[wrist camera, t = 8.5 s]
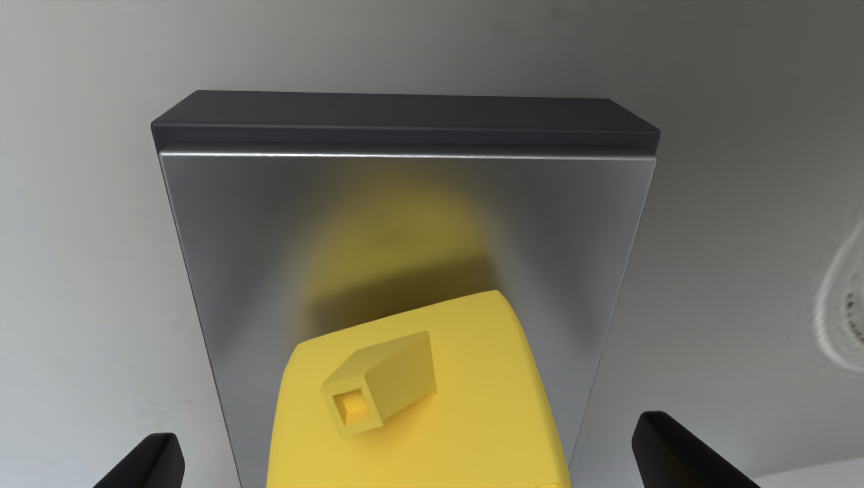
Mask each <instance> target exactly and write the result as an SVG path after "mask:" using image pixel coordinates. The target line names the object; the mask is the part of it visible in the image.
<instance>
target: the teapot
mask: <svg viewBox="0 0 864 488" xmlns="http://www.w3.org/2000/svg"><path fill="white" fill-rule="evenodd" d="M266 488H572V484H571V480H570V476H569V472H568V467H567V463H566V460H565V456H564V452H563V449H562V445H561V442H560V438H559V434H558V431H557V427H556V424H555V421H554V418H553V414H552V411H551V408H550V405H549V402H548V399H547V396H546V393H545V389H544V386H543V383H542V380H541V377H540V375H539V372H538V369H537V366H536V363H535V360H534V357H533V355H532V352H531V349H530V346H529V344H528V341H527V338H526V336H525V333H524V331H523V328H522V326H521V324H520V322H519V320H518V318H517V316H516V314H515V312H514V311H513V309H512V307H511V306H510V304H509V302H508V301H507V299H506V298H505V297H504V296H503V295H502V294H501V293H500V291H497V290H491V291H485V292H481V293H476V294H472V295H468V296H464V297H460V298H456V299H452V300H448V301H444V302H441V303H437V304H433V305H429V306H425V307H422V308H418V309H414V310H410V311H406V312H403V313H399V314H395V315H392V316H388V317H385V318H381V319H378V320H374V321H371V322H367V323H364V324H360V325H357V326H353V327H350V328H346V329H343V330H339V331H336V332H333V333H329V334H326V335H323V336H320V337H317V338H313V339H310V340H307V341H305V342H302V343H300V344H298V345H297V346H296V348H295V350H294V352H293V353H292V355H291V357H290V360H289V362H288V364H287V366H286V368H285V371H284V374H283V377H282V381H281V386H280V390H279V395H278V401H277V406H276V412H275V418H274V424H273V430H272V438H271V445H270V453H269V462H268V472H267V482H266Z"/></svg>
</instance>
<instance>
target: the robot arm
mask: <svg viewBox="0 0 864 488" xmlns="http://www.w3.org/2000/svg"><path fill="white" fill-rule="evenodd" d="M632 449H633V453H634V456H635V459H636V462H637V465H638V468H639V471H640V475H641V478H642V481H643V484H644V487H645V488H761V487H759V486H758V485H757V484H756V483H754V482H753V481H752V480H750V479H749V478H748V477H747V476H745V475H744V474H743V473H742V472H740V471H739V470H738V469H737V468H735V467H734V466H733V465H731V464H730V463H729V462H728V461H726V460H725V459H724V458H723V457H721V456H720V455H719V454H718V453H716V452H715V451H714V450H712V449H711V448H710V447H709V446H707V445H706V444H705V443H704V442H702V441H701V440H700V439H699V438H697V437H696V436H695V435H693V434H692V433H691V432H690V431H688V430H687V429H686V428H685V427H683V426H682V425H681V424H680V423H678V422H677V421H676V420H674V419H673V418H672V417H671V416H669V415H668V414H667V413H665V412H663V411H646V412H643V413H642V414H641V415H640V418H639V420H638V423H637V426H636V428H635V431H634V434H633V437H632ZM184 470H185V461H184V457H183V454H182V451H181V448H180V445H179V442H178V439H177V437H176V435H175V434H174V433H153V434H150V435H149V436H147V437H146V438H145V439H144V440H142V441H141V442H140V443H139V444H138V445H137V446H136V447H135V448H134V449H133V450H132V451H131V452H130V453H129V454H128V455H127V456H126V457H125V458H123V459H122V460H121V461H120V462H119V463H118V464H117V465H116V466H115V467H114V468H113V469H112V470H111V471H110V472H109V473H108V474H107V475H106V476H104V477H103V478H102V479H101V480H100V481H99V482H98V483H97V484H96V485H95V486H94V487H93V488H181V484H182V480H183V476H184Z"/></svg>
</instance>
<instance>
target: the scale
mask: <svg viewBox="0 0 864 488" xmlns="http://www.w3.org/2000/svg"><path fill="white" fill-rule="evenodd" d="M151 130H152V134H153V138H154V142H155V146H156V150H157V154H158V158H159V162H160V166H161V170H162V174H163V178H164V182H165V186H166V190H167V194H168V198H169V202H170V206H171V210H172V214H173V218H174V222H175V226H176V230H177V234H178V238H179V242H180V246H181V250H182V254H183V258H184V262H185V266H186V270H187V274H188V278H189V282H190V286H191V290H192V294H193V298H194V302H195V306H196V310H197V314H198V318H199V321H200V325H201V329H202V333H203V337H204V341H205V345H206V349H207V353H208V357H209V361H210V365H211V369H212V373H213V377H214V381H215V385H216V389H217V393H218V397H219V401H220V405H221V409H222V413H223V417H224V421H225V425H226V429H227V433H228V437H229V441H230V445H231V449H232V453H233V457H234V461H235V465H236V469H237V473H238V477H239V481H240V485H241V488H266V482H267V472H268V462H269V453H270V445H271V438H272V430H273V424H274V418H275V412H276V406H277V401H278V395H279V390H280V386H281V381H282V377H283V374H284V371H285V368H286V366H287V364H288V362H289V360H290V357H291V355H292V353H293V352H294V350H295V348H296V346H297V345H298V344H300V343H302V342H305V341H307V340H310V339H313V338H317V337H320V336H323V335H326V334H329V333H333V332H336V331H339V330H343V329H346V328H350V327H353V326H357V325H360V324H364V323H367V322H371V321H374V320H378V319H381V318H385V317H388V316H392V315H395V314H399V313H403V312H406V311H410V310H414V309H418V308H422V307H425V306H429V305H433V304H437V303H441V302H444V301H448V300H452V299H456V298H460V297H464V296H468V295H472V294H476V293H481V292H485V291H491V290H497V291H500V293H501V294H502V295H503V296H504V297H505V298H506V299H507V301H508V302H509V304H510V306H511V307H512V309H513V311H514V312H515V314H516V316H517V318H518V320H519V322H520V324H521V326H522V328H523V331H524V333H525V336H526V338H527V341H528V344H529V346H530V349H531V352H532V355H533V357H534V360H535V363H536V366H537V369H538V372H539V375H540V377H541V380H542V383H543V386H544V389H545V393H546V396H547V399H548V402H549V405H550V408H551V411H552V414H553V418H554V421H555V424H556V427H557V431H558V434H559V438H560V442H561V445H562V449H563V452H564V456H565V460H566V463H567V467H568V469H569V466H570V462H571V459H572V455H573V452H574V448H575V445H576V441H577V438H578V435H579V431H580V428H581V424H582V421H583V417H584V414H585V410H586V407H587V403H588V400H589V396H590V393H591V389H592V386H593V382H594V379H595V375H596V372H597V368H598V365H599V361H600V358H601V355H602V351H603V348H604V344H605V341H606V337H607V334H608V330H609V327H610V323H611V320H612V316H613V313H614V309H615V306H616V302H617V299H618V295H619V292H620V288H621V285H622V282H623V278H624V275H625V271H626V268H627V264H628V261H629V257H630V254H631V250H632V247H633V243H634V240H635V236H636V233H637V229H638V226H639V222H640V219H641V215H642V212H643V208H644V205H645V202H646V198H647V195H648V191H649V188H650V184H651V181H652V177H653V174H654V170H655V167H656V163H657V156H655V152H656V149H657V145H658V142H659V138H660V130H659V129H657V128H656V127H654V126H653V125H651V124H649V123H648V122H646V121H644V120H643V119H641V118H639V117H638V116H636V115H635V114H633V113H631V112H630V111H628V110H626V109H625V108H623V107H621V106H620V105H618V104H616V103H615V102H613V101H612V100H610V99H587V98H540V97H493V96H447V95H400V94H353V93H306V92H259V91H212V90H197V91H195V92H194V93H192V94H191V95H189V96H188V97H186V98H185V99H184V100H182V101H181V102H179V103H178V104H177V105H175V106H174V107H172V108H171V109H169V110H168V111H167V112H165V113H164V114H162V115H161V116H160V117H158V118H157V119H155V120H154V121H152V122H151Z"/></svg>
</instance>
